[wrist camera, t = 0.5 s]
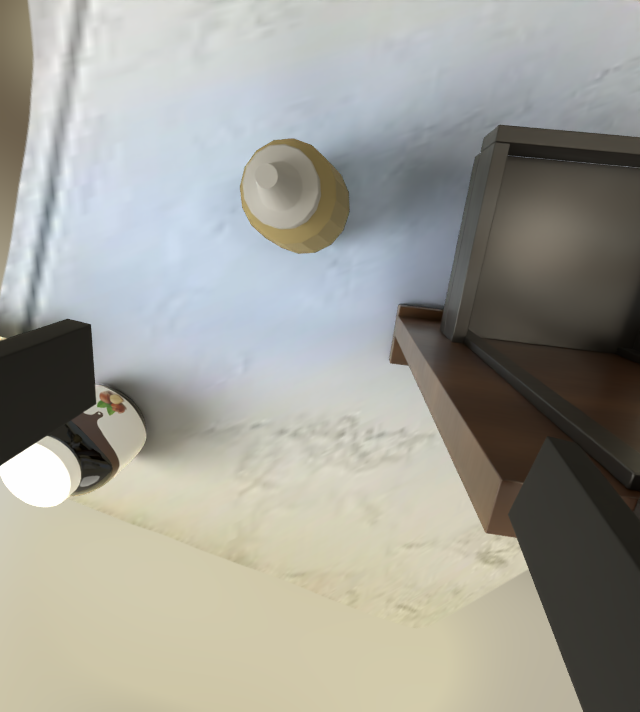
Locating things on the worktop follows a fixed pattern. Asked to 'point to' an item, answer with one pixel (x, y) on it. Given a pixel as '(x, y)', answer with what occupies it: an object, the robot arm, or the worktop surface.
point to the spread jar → (79, 452)
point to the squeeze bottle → (294, 196)
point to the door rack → (537, 316)
